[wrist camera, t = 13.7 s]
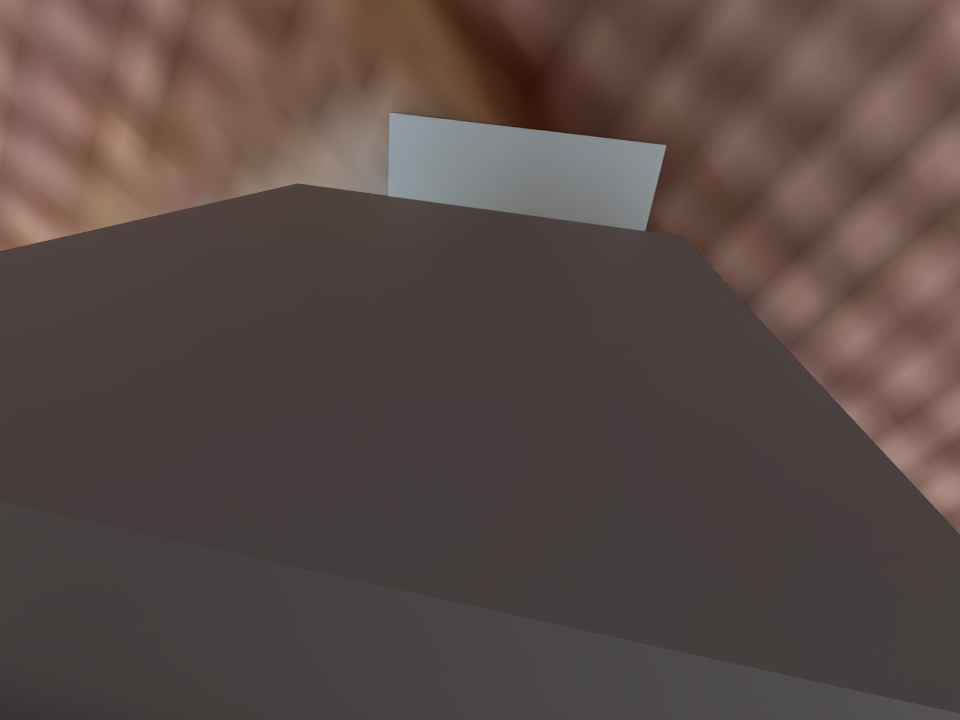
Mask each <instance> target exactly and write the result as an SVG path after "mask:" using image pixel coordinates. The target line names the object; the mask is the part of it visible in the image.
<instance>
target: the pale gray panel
mask: <svg viewBox="0 0 960 720" xmlns="http://www.w3.org/2000/svg"><path fill="white" fill-rule="evenodd" d="M665 149H666V145H661V144H652V143H644V142H635V141H627V140H618V139H610V138H601V137H593V136H584V135H576V134H567V133H559V132H550V131H542V130H534V129H525V128H517V127H508V126H500V125H491V124H483V123H474V122H466V121H457V120H449V119H440V118H432V117H424V116H415V115H407V114H398V113H390V116H389V165H388V196H392V197H400V198H407V199H414V200H422V201H429V202H436V203H444V204H451V205H458V206H466V207H473V208H480V209H488V210H495V211H502V212H510V213H517V214H524V215H532V216H539V217H546V218H554V219H561V220H568V221H576V222H583V223H590V224H598V225H605V226H612V227H620V228H627V229H634V230H642V231H645V230H646V226H647V222H648V218H649V214H650V210H651V206H652V202H653V198H654V194H655V190H656V185H657V181H658V177H659V173H660V169H661V165H662V161H663V157H664V153H665Z"/></svg>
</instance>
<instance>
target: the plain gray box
mask: <svg viewBox="0 0 960 720" xmlns="http://www.w3.org/2000/svg"><path fill="white" fill-rule="evenodd" d="M0 720H960V534H959V533H958V532H957V531H956V530H955V529H954V528H953V527H952V526H951V525H950V524H949V522H948V521H947V520H946V519H945V518H944V517H943V516H942V515H941V514H940V513H939V512H938V511H937V510H936V508H935V507H934V506H933V505H932V504H931V503H930V502H929V501H928V500H927V499H926V498H925V497H924V496H923V495H922V493H921V492H920V491H919V490H918V489H917V488H916V487H915V486H914V485H913V484H912V483H911V482H910V481H909V479H908V478H907V477H906V476H905V475H904V474H903V473H902V472H901V471H900V470H899V469H898V468H897V467H896V465H895V464H894V463H893V462H892V461H891V460H890V459H889V458H888V457H887V456H886V455H885V454H884V453H883V452H882V450H881V449H880V448H879V447H878V446H877V445H876V444H875V443H874V442H873V441H872V440H871V439H870V438H869V436H868V435H867V434H866V433H865V432H864V431H863V430H862V429H861V428H860V427H859V426H858V425H857V424H856V422H855V421H854V420H853V419H852V418H851V417H850V416H849V415H848V414H847V413H846V412H845V411H844V410H843V409H842V407H841V406H840V405H839V404H838V403H837V402H836V401H835V400H834V399H833V398H832V397H831V396H830V395H829V393H828V392H827V391H826V390H825V389H824V388H823V387H822V386H821V385H820V384H819V383H818V382H817V381H816V379H815V378H814V377H813V376H812V375H811V374H810V373H809V372H808V371H807V370H806V369H805V368H804V367H803V366H802V364H801V363H800V362H799V361H798V360H797V359H796V358H795V357H794V356H793V355H792V354H791V353H790V352H789V350H788V349H787V348H786V347H785V346H784V345H783V344H782V343H781V342H780V341H779V340H778V339H777V338H776V336H775V335H774V334H773V333H772V332H771V331H770V330H769V329H768V328H767V327H766V326H765V325H764V324H763V323H762V321H761V320H760V319H759V318H758V317H757V316H756V315H755V314H754V313H753V312H752V311H751V310H750V309H749V307H748V306H747V305H746V304H745V303H744V302H743V301H742V300H741V299H740V298H739V297H738V296H737V295H736V293H735V292H734V291H733V290H732V289H731V288H730V287H729V286H728V285H727V284H726V283H725V282H724V281H723V280H722V278H721V277H720V276H719V275H718V274H717V273H716V272H715V271H714V270H713V269H712V268H711V267H710V266H709V264H708V263H707V262H706V261H705V260H704V259H703V258H702V257H701V256H700V255H699V254H698V253H697V252H696V250H695V249H694V248H693V247H692V246H691V245H690V244H689V243H688V242H687V241H686V240H685V239H684V238H683V237H682V236H678V235H671V234H663V233H656V232H649V231H642V230H634V229H627V228H620V227H612V226H605V225H598V224H590V223H583V222H576V221H568V220H561V219H554V218H546V217H539V216H532V215H524V214H517V213H510V212H502V211H495V210H488V209H480V208H473V207H466V206H458V205H451V204H444V203H436V202H429V201H422V200H414V199H407V198H400V197H392V196H385V195H378V194H370V193H363V192H356V191H348V190H341V189H334V188H326V187H319V186H312V185H304V184H294V185H290V186H285V187H281V188H276V189H272V190H268V191H263V192H259V193H254V194H250V195H246V196H241V197H237V198H232V199H228V200H224V201H219V202H215V203H211V204H206V205H202V206H197V207H193V208H189V209H184V210H180V211H175V212H171V213H167V214H162V215H158V216H153V217H149V218H145V219H140V220H136V221H131V222H127V223H123V224H118V225H114V226H109V227H105V228H101V229H96V230H92V231H87V232H83V233H79V234H74V235H70V236H66V237H61V238H57V239H52V240H48V241H44V242H39V243H35V244H30V245H26V246H22V247H17V248H13V249H8V250H4V251H0Z"/></svg>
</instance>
